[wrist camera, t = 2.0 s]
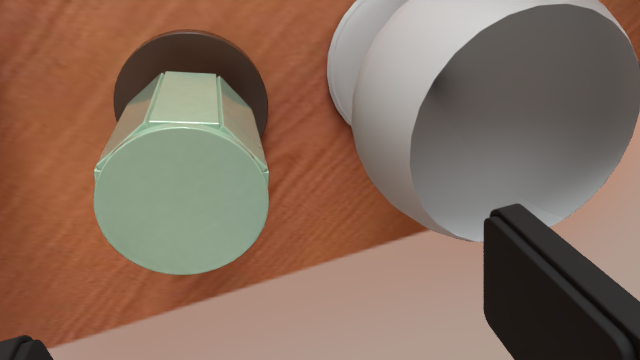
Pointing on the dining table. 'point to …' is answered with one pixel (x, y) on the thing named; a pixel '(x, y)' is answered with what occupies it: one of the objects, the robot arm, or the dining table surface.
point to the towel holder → (192, 68)
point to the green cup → (183, 177)
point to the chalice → (485, 104)
